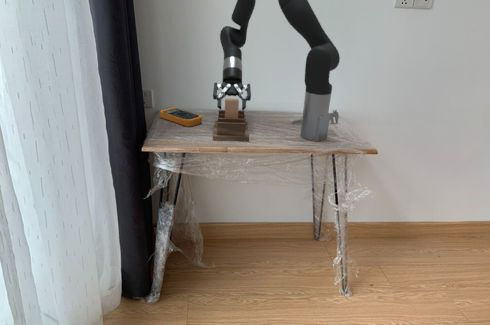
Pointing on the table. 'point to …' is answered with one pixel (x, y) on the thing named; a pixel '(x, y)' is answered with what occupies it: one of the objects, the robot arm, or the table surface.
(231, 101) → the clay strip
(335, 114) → the caliper
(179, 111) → the multimeter
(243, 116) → the ridged wooden board
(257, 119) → the table surface
